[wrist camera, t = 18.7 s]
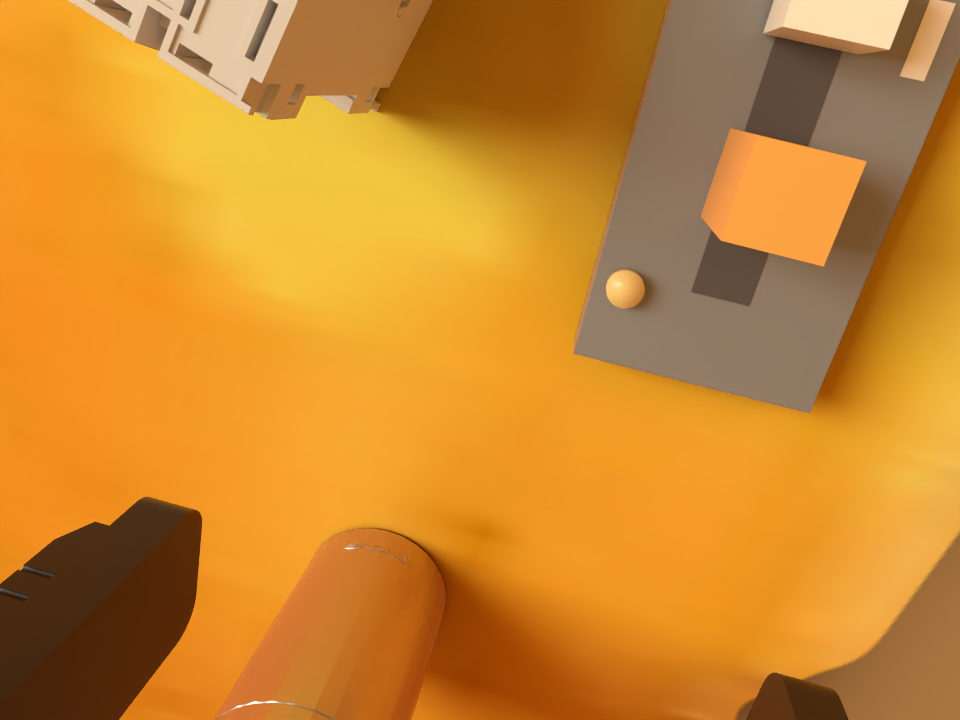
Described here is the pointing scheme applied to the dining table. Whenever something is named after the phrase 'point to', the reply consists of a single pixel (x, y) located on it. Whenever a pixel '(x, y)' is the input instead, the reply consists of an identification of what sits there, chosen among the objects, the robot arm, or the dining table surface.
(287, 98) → the circuit breaker
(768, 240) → the cap
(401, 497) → the dining table surface
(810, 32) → the switch
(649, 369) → the breaker panel
